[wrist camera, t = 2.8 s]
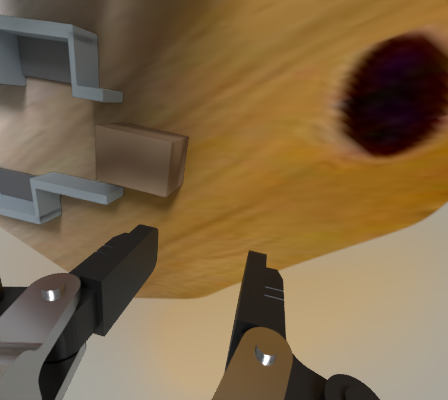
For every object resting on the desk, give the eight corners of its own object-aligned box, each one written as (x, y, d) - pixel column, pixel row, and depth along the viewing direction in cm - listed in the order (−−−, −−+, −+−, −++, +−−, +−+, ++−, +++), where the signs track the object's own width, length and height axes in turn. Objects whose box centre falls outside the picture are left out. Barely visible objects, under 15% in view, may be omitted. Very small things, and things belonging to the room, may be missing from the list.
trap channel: (-81, 10, 25) (-124, -2, 22) (122, 38, 22) (100, 28, 19) (-32, 191, 32) (-60, 199, 30) (123, 229, 30) (108, 241, 27)
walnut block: (124, 122, 25) (95, 125, 21) (189, 136, 24) (171, 142, 20) (123, 168, 27) (96, 179, 23) (183, 183, 26) (166, 197, 22)
